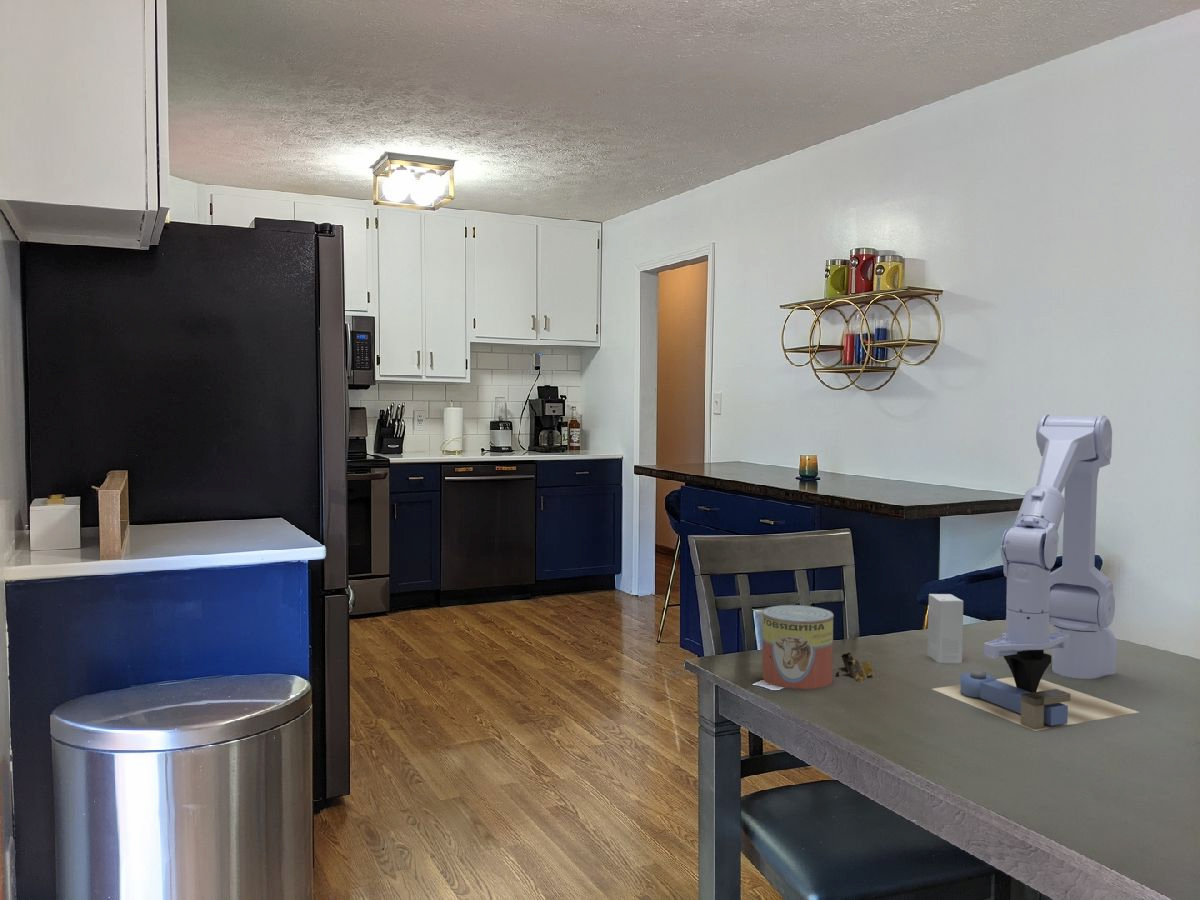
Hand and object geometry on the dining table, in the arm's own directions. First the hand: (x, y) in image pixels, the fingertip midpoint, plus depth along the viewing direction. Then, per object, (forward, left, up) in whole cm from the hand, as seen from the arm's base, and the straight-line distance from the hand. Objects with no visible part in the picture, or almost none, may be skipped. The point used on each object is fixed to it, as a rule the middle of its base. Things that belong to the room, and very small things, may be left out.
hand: (1026, 701), depth 136 cm
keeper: (+3, +6, -2) cm, 8 cm away
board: (-3, -2, -2) cm, 4 cm away
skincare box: (-8, -25, -2) cm, 26 cm away
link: (+2, -1, -1) cm, 2 cm away
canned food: (+23, -25, -2) cm, 34 cm away
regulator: (+14, -21, -3) cm, 25 cm away
